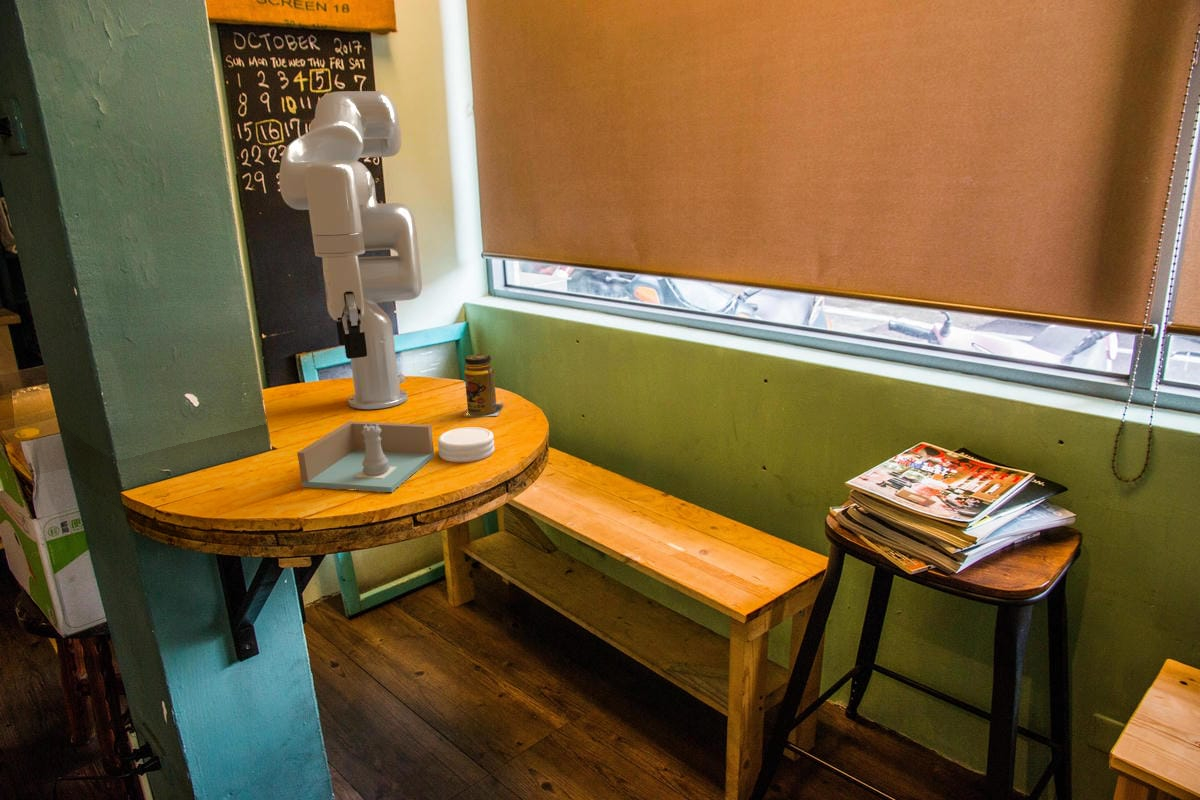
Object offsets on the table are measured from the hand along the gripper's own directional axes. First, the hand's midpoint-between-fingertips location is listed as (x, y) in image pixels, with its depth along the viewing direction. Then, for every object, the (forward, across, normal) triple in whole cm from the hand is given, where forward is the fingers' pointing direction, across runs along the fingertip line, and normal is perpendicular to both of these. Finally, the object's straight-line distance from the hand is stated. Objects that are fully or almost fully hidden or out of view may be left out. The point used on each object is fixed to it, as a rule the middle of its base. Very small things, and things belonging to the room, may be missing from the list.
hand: (352, 350), depth 127 cm
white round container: (+22, 0, +17) cm, 28 cm away
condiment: (+22, -22, +27) cm, 41 cm away
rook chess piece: (+20, +5, +1) cm, 21 cm away
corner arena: (+21, +2, 0) cm, 21 cm away
